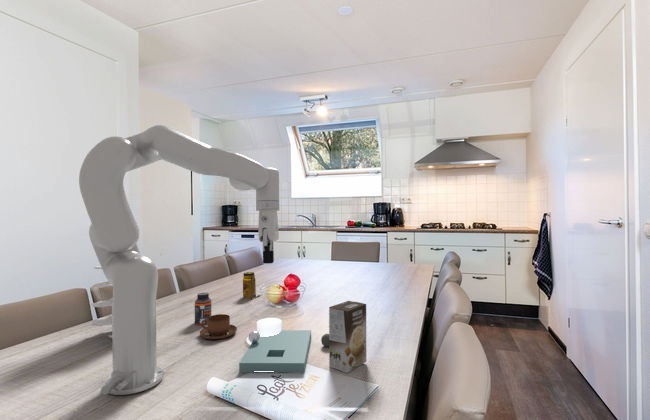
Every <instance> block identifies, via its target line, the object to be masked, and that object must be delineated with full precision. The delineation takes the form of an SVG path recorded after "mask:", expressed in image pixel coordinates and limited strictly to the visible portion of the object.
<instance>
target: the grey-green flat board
mask: <svg viewBox="0 0 650 420" xmlns="http://www.w3.org/2000/svg"><path fill="white" fill-rule="evenodd" d="M280 330H281V332H280V333H279V334H277V335H274V336H269V337H260V339H259V341H258V342H256V343H252V342H251V344H250V345H249V347H248V349H247V350H246V352H245V353H244V355H243V356H242V358H241V359H240V361H239V363H238V365H239V366H238V368H239V369H238V371H239V373H243V374H245V373H246V374H248V373H250V374H251V372H254V371H274V372H306V367H307V364H308V363H307V362H308V357H309V351H310V346H311V341H312V330H311V329H310V330H309V329H306V330H305V329H302V330H301V329H298V330H297V329H296V330H295V329H291V330H290V329H288V330H287V329H285V330H284V329H283V330H282V329H280Z"/></svg>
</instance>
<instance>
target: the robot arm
mask: <svg viewBox="0 0 650 420" xmlns="http://www.w3.org/2000/svg"><path fill="white" fill-rule="evenodd" d="M162 160H163V161H165V162H167V163H170V164H173V165H175V166H178V167H180V168H183V169H185V170H187V171H190V172H192V173H195V174H197V175H198V174H199V175H203V176H211V177H212V176H214V177H221V178H227V179H228V181H229V184H230V186H231V187H233V188H234V189H236V190H237V191H243V192H245V191H251V190H254V191H255V211H256V212H258V241H259V242H260V243H262V263H263V264H265V265H266V264H273V263H274V262H275V260H274V259H275V258H274V255H275V254H274V252H275V251H274V243H275V242H277V241H278V240H279V238H280V236H279V234H280V232H279V218H278V217H279V216H278V211H280V172H279V170H278V169H277V168H275V167H274V168H273V167H265V166H264V165H262V164H261V163H260V162H257V161H255V160H253V159H251V158H249V157H247V156H245V155H243V154H240V153H236V152H233V151H230V150H229V151H228V150H225V149H222V148H219V147H214V146H211V145H209V144H207V143H204V142H201V141H199V140H197V139H195V138H193V137H190V136H189V135H186V134H184V133H182V132H180V131H177V130H175V129H173V128H171V127H168V126H166V125H162V124H157V125H153V126H151V127H149V128H147V129H145V130H144V131H142V132H140V133H137V134H134V135H132V136H128V137H125V138H124V137H122V136H115V135H114V136H109V137H106V138H104V139H102V140H101V141H99V142H98V143H97V144H95V146H93V148H92V149H90V150H89V152H88V153H87V155H85V158H84V160H83V162H82V164H81V167H80V170H79V175H78V177H79V178H78V185H79V190H80V194H81V198H82V201H83V203H84V206H85V209H86V212H87V215H88V218H89V220H90V222H91V223H90V226H89V231H88V235H89V239H90V243H91V245H92V247H93V250H94V253H95V255H96V257H97V261H98V262H99V266H101V267H102V269H101V270H102V272H103V274H104V275H105V276H104V277H105V278H106V279H107V282H110V283H111V284H112V285H113V286H112V298H113V300H112V306H111V316H112V325H111V327H112V328H111V331H112V333H111V335H112V338H111V340H112V343H111V344H112V372H111V373H110V374H111V375H110V377H109V378H108V379H107V381H106V382H105V384H104V385H103V386H102V387H101V388H100V392H101V394H103V395H104V396H105V395H108V394H109V395H115V396H124V395H125V396H126V395H127V396H128V395H132V394H133V395H134V394H137V393H141V392H143V391H146V390H149V389H151V388H153V387H156V385H158V384H159V383H160V382H161V381H162V380H163V379H164V370H163V369H162V368H161V367H159V366H158V365H157V361H158V359H157V354H158V353H157V293H158V292H157V291H158V284H159V272H158V268H157V266H156V263H155V262H154V261H153V260H152V259H151V258H149V257H148V256H146V255H144V254H142V253H141V251H140V250H139V246H138V241H139V240H140V229H139V226H138V223H137V221H136V219H135V217H134V214H133V212H132V209H131V207H130V204H129V201H128V198H127V194H126V191H125V186H124V179H125V175H126V173H128V172H131V171H133V170H137V169H141V168H142V167H145V166H147V165H151V164H153V163H155V162H158V161H162Z"/></svg>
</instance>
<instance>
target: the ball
mask: <svg viewBox="0 0 650 420" xmlns="http://www.w3.org/2000/svg"><path fill="white" fill-rule="evenodd" d="M259 339H260V334H259V331H257V330H251V332H249V334H248V340H249V342H250V343H251V344H252V343H256V342H258V341H259Z"/></svg>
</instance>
